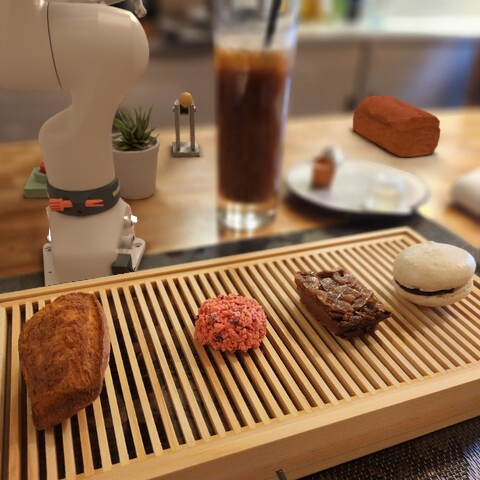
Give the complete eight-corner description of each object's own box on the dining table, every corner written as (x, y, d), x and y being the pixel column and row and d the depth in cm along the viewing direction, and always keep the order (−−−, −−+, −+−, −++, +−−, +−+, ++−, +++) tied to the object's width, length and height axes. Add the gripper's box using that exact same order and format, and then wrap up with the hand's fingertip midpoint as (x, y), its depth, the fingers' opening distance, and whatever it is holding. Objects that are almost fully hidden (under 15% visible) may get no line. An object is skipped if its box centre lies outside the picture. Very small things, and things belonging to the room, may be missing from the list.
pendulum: (199, 156, 126) (198, 106, 118) (173, 156, 125) (170, 106, 117) (197, 145, 132) (196, 97, 124) (172, 146, 131) (169, 97, 123)
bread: (385, 125, 153) (394, 90, 146) (440, 153, 135) (452, 115, 128) (345, 129, 148) (352, 93, 142) (396, 159, 130) (407, 120, 123)
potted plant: (107, 208, 101) (92, 112, 88) (107, 182, 111) (94, 92, 98) (165, 205, 103) (159, 110, 90) (160, 179, 113) (154, 91, 100)
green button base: (72, 196, 104) (69, 180, 102) (26, 198, 103) (21, 181, 100) (78, 175, 113) (75, 159, 111) (36, 176, 112) (31, 159, 109)
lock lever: (193, 105, 108) (192, 90, 107) (179, 105, 108) (178, 90, 107) (190, 116, 123) (189, 103, 122) (178, 116, 123) (177, 103, 122)
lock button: (58, 174, 105) (56, 167, 103) (39, 175, 104) (37, 167, 103) (60, 167, 108) (59, 160, 106) (42, 168, 107) (40, 160, 106)
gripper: (58, -50, 88) (106, 20, 92) (125, -61, 101) (164, 1, 105) (45, -26, 92) (92, 40, 97) (111, -39, 105) (149, 20, 110)
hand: (130, 20), depth 101 cm, fingers open, 8 cm apart
